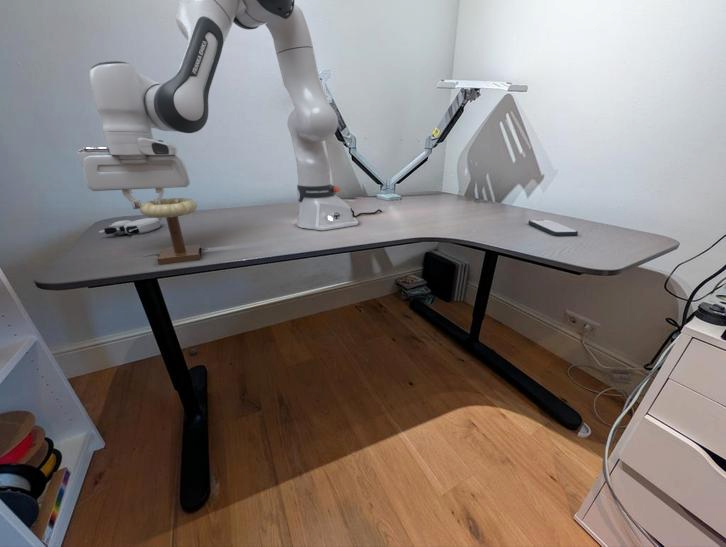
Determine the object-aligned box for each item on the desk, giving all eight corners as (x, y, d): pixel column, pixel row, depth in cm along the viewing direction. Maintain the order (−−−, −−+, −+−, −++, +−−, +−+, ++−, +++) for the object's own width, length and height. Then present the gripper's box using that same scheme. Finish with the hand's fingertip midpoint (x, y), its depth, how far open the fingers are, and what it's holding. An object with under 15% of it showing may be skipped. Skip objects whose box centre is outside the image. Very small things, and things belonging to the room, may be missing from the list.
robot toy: (99, 242, 96) (146, 238, 96) (93, 227, 94) (141, 224, 94) (127, 231, 107) (169, 228, 107) (122, 218, 106) (165, 215, 105)
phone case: (579, 236, 103) (548, 223, 118) (580, 231, 102) (549, 219, 117) (553, 237, 102) (526, 224, 117) (555, 232, 102) (527, 219, 116)
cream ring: (199, 207, 85) (196, 196, 84) (196, 216, 75) (193, 203, 74) (147, 210, 81) (144, 198, 80) (137, 220, 71) (133, 207, 70)
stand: (201, 249, 88) (191, 200, 83) (199, 259, 80) (187, 207, 75) (164, 253, 85) (151, 203, 79) (158, 264, 77) (144, 210, 72)
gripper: (68, 146, 64) (91, 213, 69) (181, 146, 71) (193, 207, 77) (80, 146, 69) (100, 208, 75) (183, 146, 77) (195, 202, 82)
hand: (148, 207), depth 76 cm, fingers closed on cream ring, 3 cm apart
